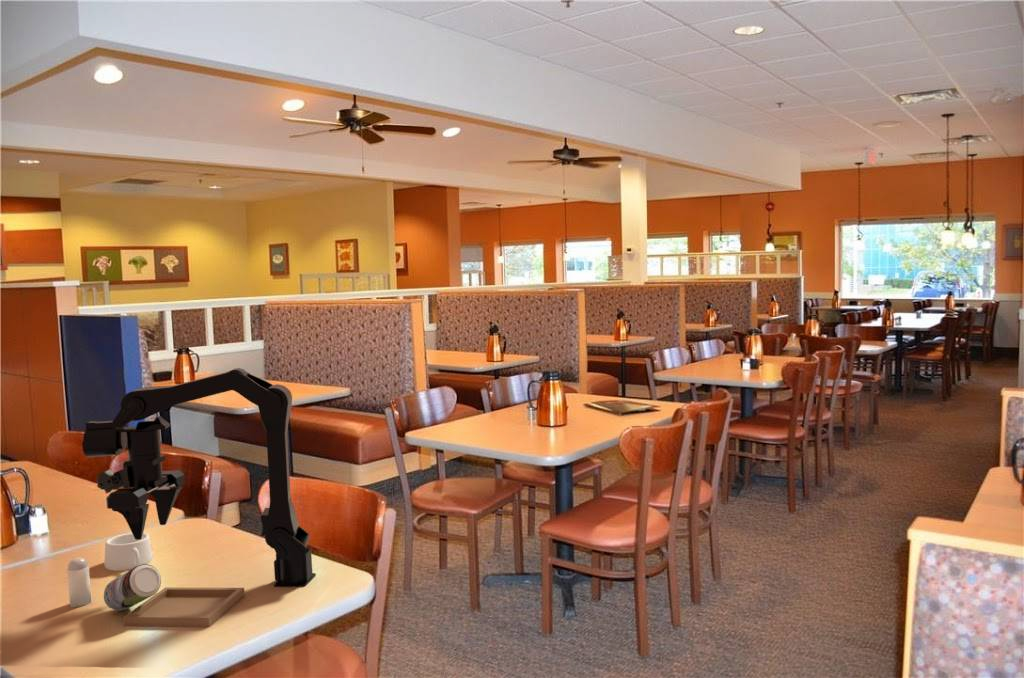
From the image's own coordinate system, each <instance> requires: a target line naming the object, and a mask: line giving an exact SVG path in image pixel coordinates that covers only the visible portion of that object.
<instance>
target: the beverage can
mask: <svg viewBox="0 0 1024 678" xmlns="http://www.w3.org/2000/svg"><path fill="white" fill-rule="evenodd" d="M161 577H162V576H161V574H160V572H159V570H158V569H157V568H156V566H153V565H151V564H149V563H148V564H141V565H138V566H136V567H135V568H133V569H130V570H127V571H126V572H125V573H122V574H121V575H119V576H117V577H116V578H113V579H112V580H110V582H109V583H107V585H106V587H105V588H104V591H103V601H104V603H105V605H106V607H108V608H109V609H111V610H113V611H118V612H121V611H122V612H123V611H126V610H128V609H130V608H132V607H134V606H137V604H139V603H141V602H142V603H143V601H146V600H148V599H150V598H151V597H152V596H154V595H155V594H157V593H158V592H159V590H160V589H161V584H162V578H161Z"/></svg>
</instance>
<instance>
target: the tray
mask: <svg viewBox="0 0 1024 678" xmlns="http://www.w3.org/2000/svg"><path fill="white" fill-rule="evenodd" d="M245 595H246V594H245V587H182V586H181V587H171V586H170V587H167V586H166V587H164V588H162V589H161V590H160V591H157V592H156V593H155V594H154V595H153V596H151V597H149V598H147V599H146V600H144V602H142V603H141V604H139V605H138V606H137V607H135V608H134V609H132V610H131V611H129V612H128V613H127V614H125V615H124V616H123V617H122V620H123V626H124V627H187V628H188V627H192V628H193V627H197V628H198V627H199V628H201V627H202V628H203V627H204V628H210V627H212V626H213V624H215V622H216V621H218V620H219V619H220V618H221V617H223V615H225V613H227V612H228V611H229V610H230V609H232V608H233V607H234V606H235V605H236V604H237V603H238V602H239V601H241V599H243V598H244V597H245Z"/></svg>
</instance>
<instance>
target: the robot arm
mask: <svg viewBox="0 0 1024 678" xmlns="http://www.w3.org/2000/svg"><path fill="white" fill-rule="evenodd" d="M230 391H234V392H236V393H238V394H239V395H240V396H241V397H243V398H245V399H246V400H247V401H249V402H250V403H252V404H254V405H256V406H257V407H258V411H259V416H260V420H261V423H262V426H263V428H264V430H265V434H266V435H265V436H266V447H267V448H266V449H267V450H266V452H267V469H268V470H267V471H268V486H269V489H268V490H269V492H268V493H269V506H268V507H265V508H264V509H263V511H262V513H261V515H260V520H261V524H262V531H261V535H260V536H261V537H264V541H265V542H266V545H267V546H269V547H270V548H271V549H273V550H274V552H275V560H274V561H273V568H274V569H273V572H274V581H275V583H274V584H273V587H275V588H304V587H307V585H309V583H311V581H312V580H313V579H315V578H316V576H317V574H316V573H315V572H314V573H313V560H312V558H313V557H312V548H307V547H308V546H307V545H308V542H309V541H310V537H311V534H310V533H309V532H307V531H306V530H305V529H304V528H302V527H301V526H300V525H299V520H298V518H297V517H298V516H297V514H296V513H297V512H296V509H295V506H294V503H293V501H292V498H291V497H292V496H291V479H290V463H289V462H290V459H289V441H288V440H289V439H288V428H289V423H290V416H291V411H292V403H293V394H292V392H291V390H290V389H289V388H288V387H286V386H284V385H283V384H279V383H278V384H272V383H271V382H268V381H267V380H264V379H263V378H261V377H258V376H255V375H253V374H251V373H250V372H247V371H246V370H245V369H244V368H240V367H237V368H233V369H231V370H228V371H225V372H221V373H217V374H213V375H210V376H206V377H203V378H198V379H197V378H196V379H195V380H194V379H193V380H190V381H187V382H182V383H179V384H174V385H157V386H155V385H154V386H145V387H139V388H137V389H135V390H131V391H130V392H129V391H128V392H127V393H126V394H125V395H124V396H123V397H122V399H121V402H120V410H119V412H118V413H117V414H116V416H115V417H114V419H113V420H107V421H98V420H97V421H96V420H93V421H92V420H91V421H88V422H86V423H85V431H84V432H83V433H84V434H83V437H82V441H81V445H82V446H81V447H82V451H83V454H84V456H85V457H86V458H95V457H96V458H97V457H99V458H100V457H107V456H108V457H110V456H120V455H121V454H122V452H123V451H124V450H126V449H127V452H128V453H127V456H128V459H127V460H124V461H123V463H122V469H120V470H118V471H115V472H113V471H112V470H111V469H107V470H105V471H102V472H100V473H98V474H97V485H96V486H97V489H100V490H104V493H105V494H108V493H109V494H108V495H107V496H106V498H105V499H106V501H105V502H106V508H107V509H110V510H112V511H113V512H118V513H119V514H120V515H122V516H123V518H124V519H125V522H126V523H127V525H128V528H129V529H130V531H131V533H132V534H133V536H134V538H135V539H136V540H140V539H142V535H143V533H144V530H145V525H146V520H147V517H148V512H149V507H150V503H147V502H148V499H149V495H151V496H152V497H153V499H154V502H155V508H156V512H157V513H156V514H157V518H158V522H159V525H160V526H166V525H167V523H168V520H169V518H170V515H171V512H172V511H173V510H172V509H173V507H174V504H176V503H175V502H176V500H177V498H178V495H179V493H180V491H181V490H182V488H183V487H182V485H185V483H186V482H185V481H186V479H185V473H184V472H182V471H181V470H179V469H178V470H177V469H176V470H174V469H173V470H163V466H162V465H163V462H165V461H166V459H167V457H166V454H162V453H161V451H162V449H161V441H160V439H161V438H160V437H161V436H160V431H161V430H163V431H164V430H165V429H167V428H169V427H170V426H171V424H170V422H168V421H166V420H165V419H164V418H163V417H162V416H161V415H158V416H157V417H155V419H154V420H144V419H147V418H149V417H151V416H154V415H156V414H158V413H160V412H162V411H165V410H166V409H168V408H171V407H174V406H175V405H180V404H185V403H188V402H192V401H195V400H199V399H202V398H206V397H207V398H208V397H210V396H215V395H219V394H221V393H222V394H223V393H227V392H230ZM143 420H144V421H143ZM136 421H138V422H137V424H136V426H128V425H130V424H131V423H134V422H136ZM125 426H126V427H125ZM113 490H114V491H113Z"/></svg>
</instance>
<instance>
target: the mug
mask: <svg viewBox="0 0 1024 678" xmlns="http://www.w3.org/2000/svg"><path fill="white" fill-rule="evenodd" d="M104 545H105V546H104V560H103V562H104V568H105V569H106V570H109V571H114V572H115V571H118V572H119V571H120V572H121V571H129V570H131V569H133V568H135V567H136V566H138V565H141V564H148V565H149V563H151V562H153V560H154V552H153V547H152V543H151V538H150V534H148V533H147V532H143V535H142V539H140V540H136V539H135V538H134V536H133V534H132V532H131V533H130V532H129V533H124V534H123V533H122V534H119V535H116V536H112V537H110V538H109V539H107V540H106V541H105V543H104Z"/></svg>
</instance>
